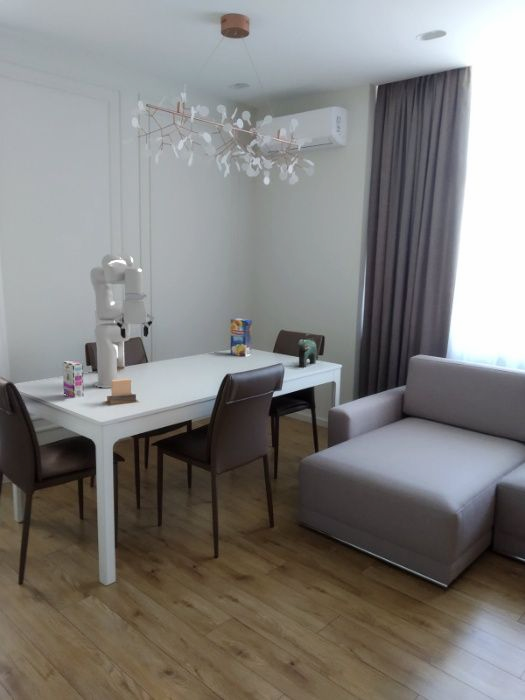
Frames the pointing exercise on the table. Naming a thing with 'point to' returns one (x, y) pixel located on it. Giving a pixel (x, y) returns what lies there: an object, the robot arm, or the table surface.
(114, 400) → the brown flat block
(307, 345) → the green elephant figurine
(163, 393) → the table surface
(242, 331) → the juice carton
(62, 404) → the table surface
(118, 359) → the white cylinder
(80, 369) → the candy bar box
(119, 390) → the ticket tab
